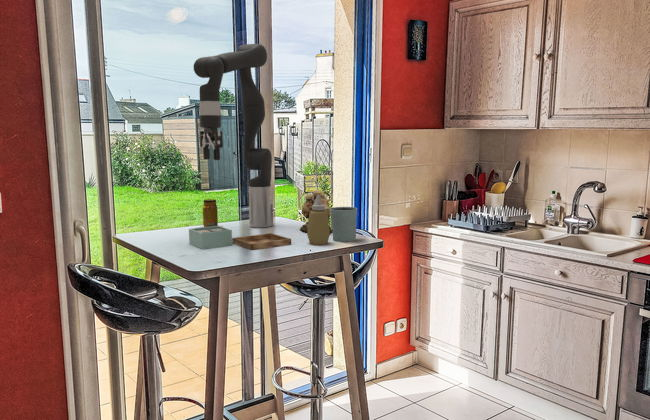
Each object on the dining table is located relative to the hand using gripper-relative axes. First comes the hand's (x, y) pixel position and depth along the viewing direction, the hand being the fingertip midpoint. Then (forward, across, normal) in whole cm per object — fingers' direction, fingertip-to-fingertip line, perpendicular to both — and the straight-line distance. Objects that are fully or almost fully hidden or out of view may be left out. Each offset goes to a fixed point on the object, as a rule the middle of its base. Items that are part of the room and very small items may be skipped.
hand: (211, 159), depth 199 cm
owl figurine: (+30, -6, -42) cm, 52 cm away
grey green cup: (+30, -27, -40) cm, 57 cm away
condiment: (+30, +27, -12) cm, 42 cm away
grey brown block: (+30, -8, +2) cm, 31 cm away
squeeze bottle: (+30, -29, -27) cm, 50 cm away
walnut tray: (+30, -18, -10) cm, 36 cm away
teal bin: (+30, -8, +5) cm, 32 cm away
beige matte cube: (+30, -8, +8) cm, 31 cm away
